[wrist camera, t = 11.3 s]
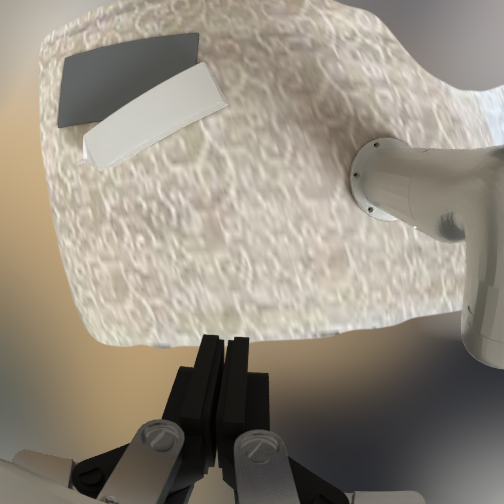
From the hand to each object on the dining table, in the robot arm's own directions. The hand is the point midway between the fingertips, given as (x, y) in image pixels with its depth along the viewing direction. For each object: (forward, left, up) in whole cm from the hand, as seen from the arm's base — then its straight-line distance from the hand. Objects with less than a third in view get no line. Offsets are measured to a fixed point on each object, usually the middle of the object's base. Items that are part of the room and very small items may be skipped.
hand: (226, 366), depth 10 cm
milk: (+5, -17, -29) cm, 34 cm away
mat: (+21, -20, -33) cm, 44 cm away
